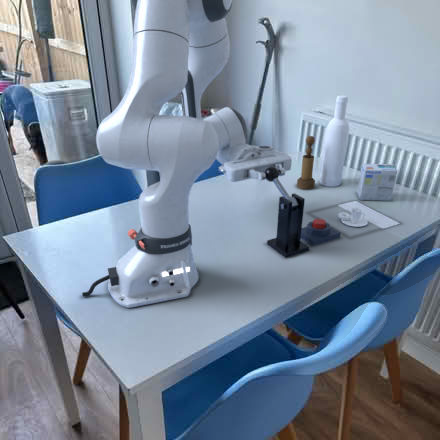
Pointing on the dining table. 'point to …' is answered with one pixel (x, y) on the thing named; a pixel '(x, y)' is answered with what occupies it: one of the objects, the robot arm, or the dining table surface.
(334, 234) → the button housing
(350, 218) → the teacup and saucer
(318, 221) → the button
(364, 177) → the light bulb box
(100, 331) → the dining table surface
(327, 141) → the bottle
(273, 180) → the lever
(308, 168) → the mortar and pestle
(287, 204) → the switch bracket
